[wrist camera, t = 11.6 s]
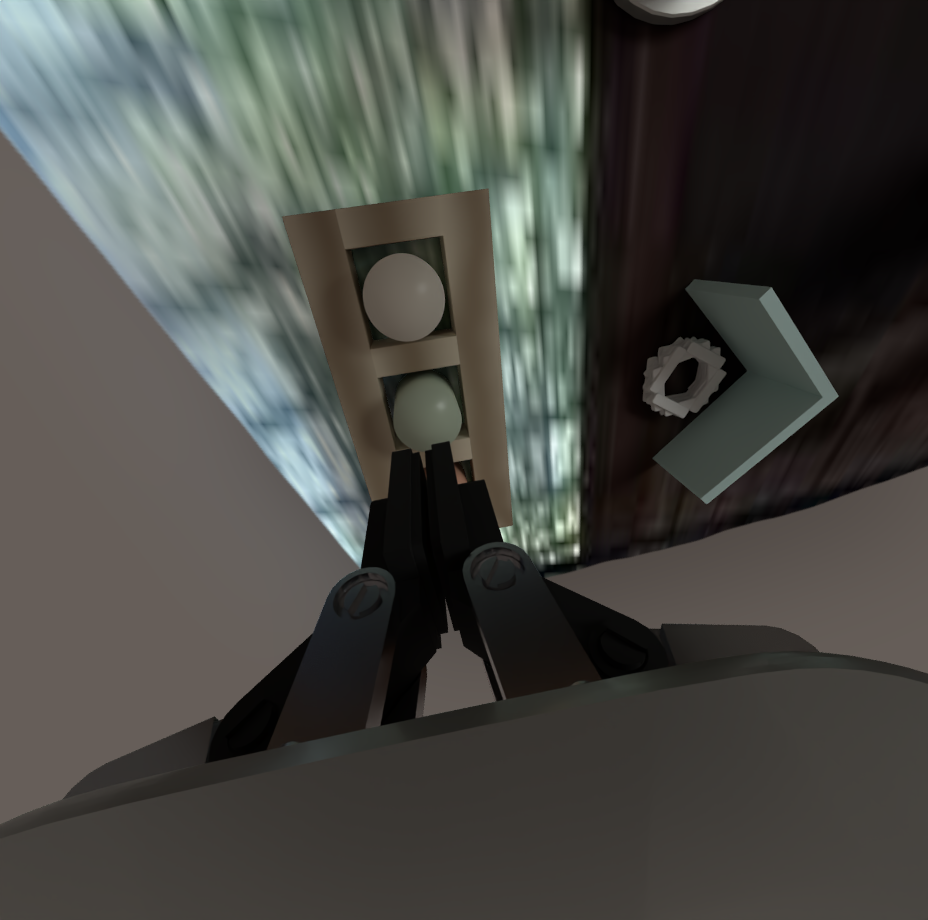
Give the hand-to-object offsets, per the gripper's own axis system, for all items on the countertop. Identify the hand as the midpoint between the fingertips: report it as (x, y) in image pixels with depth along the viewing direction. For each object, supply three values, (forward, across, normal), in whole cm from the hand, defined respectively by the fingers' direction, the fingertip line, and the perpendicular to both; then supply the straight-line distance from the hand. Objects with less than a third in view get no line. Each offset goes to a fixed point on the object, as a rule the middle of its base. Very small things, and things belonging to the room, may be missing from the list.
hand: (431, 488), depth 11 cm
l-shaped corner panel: (+21, -22, +8) cm, 31 cm away
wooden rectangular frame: (+20, +1, +5) cm, 21 cm away
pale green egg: (+20, +1, +5) cm, 20 cm away
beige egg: (+20, 0, -3) cm, 20 cm away
